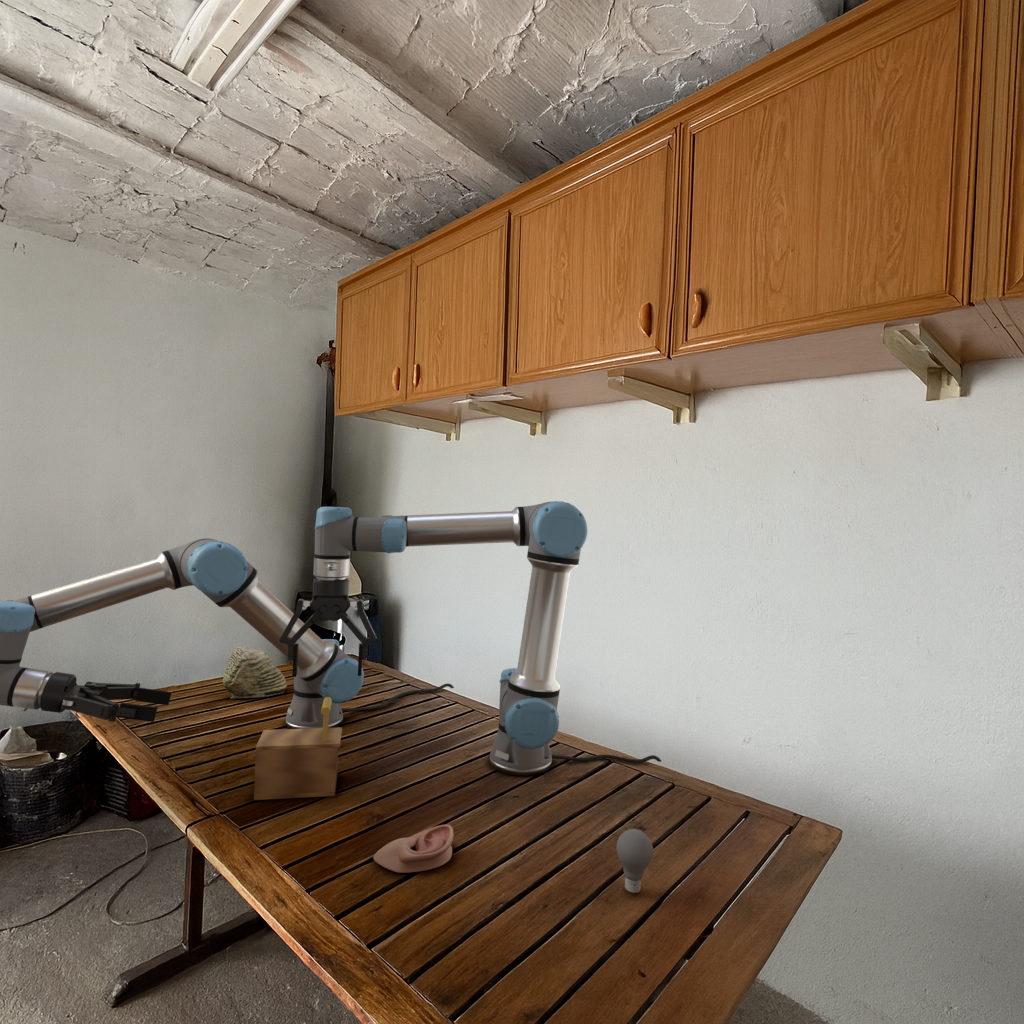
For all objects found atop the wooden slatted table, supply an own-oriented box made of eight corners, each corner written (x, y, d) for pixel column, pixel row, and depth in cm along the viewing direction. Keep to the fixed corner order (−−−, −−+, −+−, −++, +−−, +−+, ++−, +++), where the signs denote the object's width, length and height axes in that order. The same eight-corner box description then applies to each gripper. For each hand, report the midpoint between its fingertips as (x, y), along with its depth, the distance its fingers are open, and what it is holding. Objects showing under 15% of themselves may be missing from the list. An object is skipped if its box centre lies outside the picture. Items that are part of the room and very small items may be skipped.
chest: (337, 776, 144) (339, 731, 144) (334, 795, 134) (336, 747, 134) (261, 779, 140) (263, 733, 140) (253, 800, 131) (255, 750, 131)
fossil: (218, 695, 195) (220, 647, 195) (278, 685, 208) (279, 640, 207) (228, 703, 189) (230, 653, 188) (289, 692, 201) (290, 645, 201)
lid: (342, 730, 144) (343, 694, 144) (339, 747, 134) (341, 708, 134) (263, 733, 140) (265, 696, 140) (255, 750, 131) (257, 710, 131)
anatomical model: (366, 844, 109) (392, 812, 120) (365, 867, 109) (391, 833, 120) (440, 856, 106) (459, 823, 117) (439, 880, 106) (458, 844, 117)
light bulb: (610, 879, 108) (613, 822, 108) (644, 879, 109) (647, 822, 109) (619, 902, 102) (622, 840, 102) (655, 901, 103) (658, 840, 103)
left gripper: (64, 695, 137) (170, 709, 143) (13, 727, 114) (143, 742, 120) (74, 660, 138) (179, 676, 144) (25, 685, 114) (154, 702, 121)
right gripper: (267, 578, 131) (264, 680, 132) (390, 580, 137) (386, 678, 137) (273, 574, 139) (269, 670, 139) (389, 576, 144) (385, 669, 144)
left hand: (163, 706), depth 132 cm, fingers open, 13 cm apart
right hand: (327, 674), depth 138 cm, fingers open, 13 cm apart
